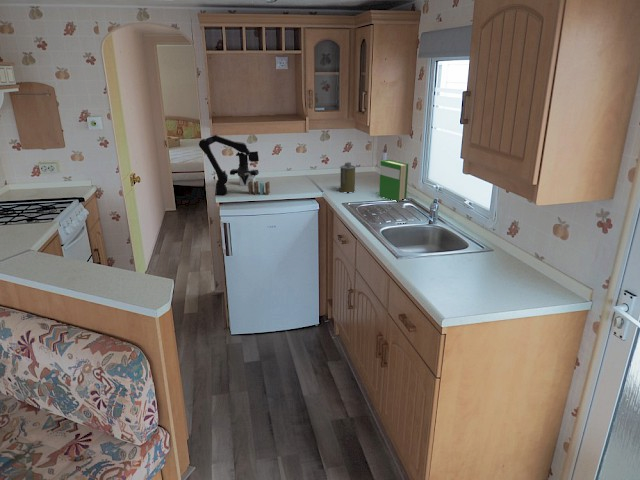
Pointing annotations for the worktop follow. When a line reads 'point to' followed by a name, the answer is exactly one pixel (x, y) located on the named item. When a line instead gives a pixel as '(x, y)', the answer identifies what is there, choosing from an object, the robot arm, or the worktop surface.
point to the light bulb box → (248, 180)
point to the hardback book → (393, 179)
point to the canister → (347, 178)
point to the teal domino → (261, 188)
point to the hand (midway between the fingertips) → (245, 184)
